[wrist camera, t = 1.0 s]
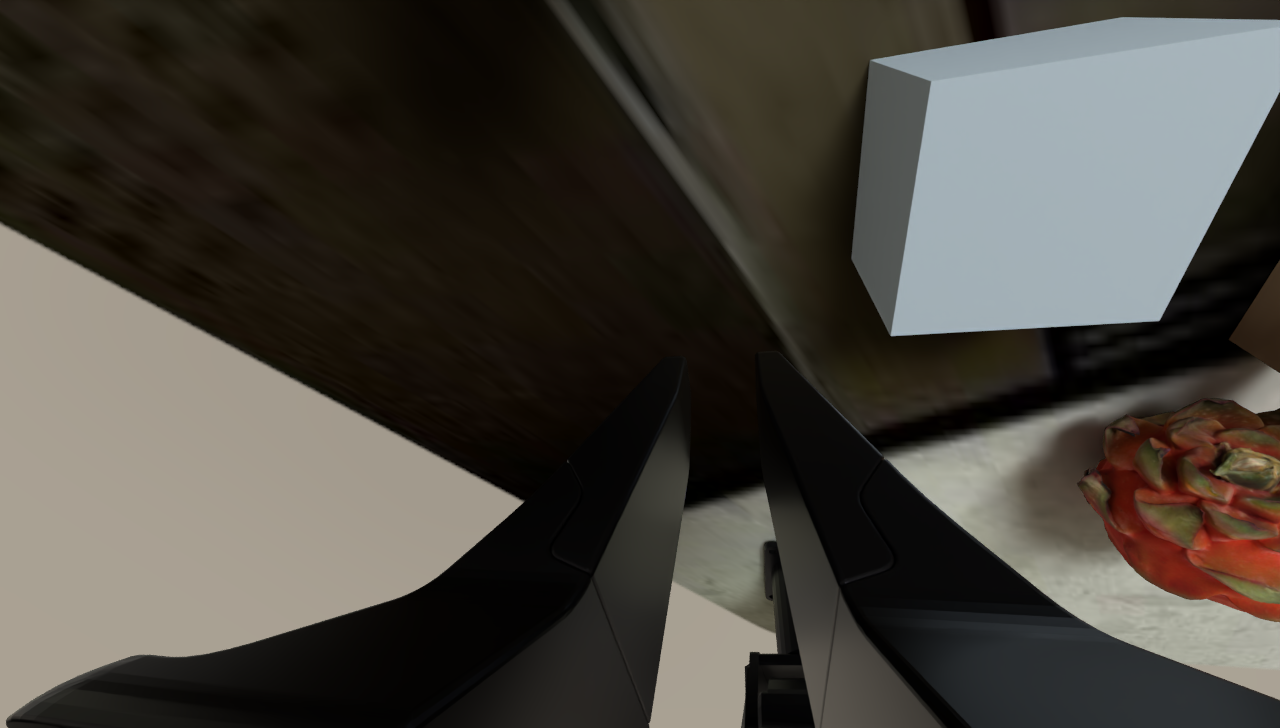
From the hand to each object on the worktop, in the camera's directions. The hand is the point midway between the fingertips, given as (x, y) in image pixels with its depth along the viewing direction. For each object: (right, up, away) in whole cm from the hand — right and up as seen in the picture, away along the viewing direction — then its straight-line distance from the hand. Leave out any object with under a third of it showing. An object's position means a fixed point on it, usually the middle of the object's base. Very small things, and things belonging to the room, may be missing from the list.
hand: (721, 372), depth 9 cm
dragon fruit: (+24, -4, +14) cm, 28 cm away
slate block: (+10, +8, +8) cm, 15 cm away
